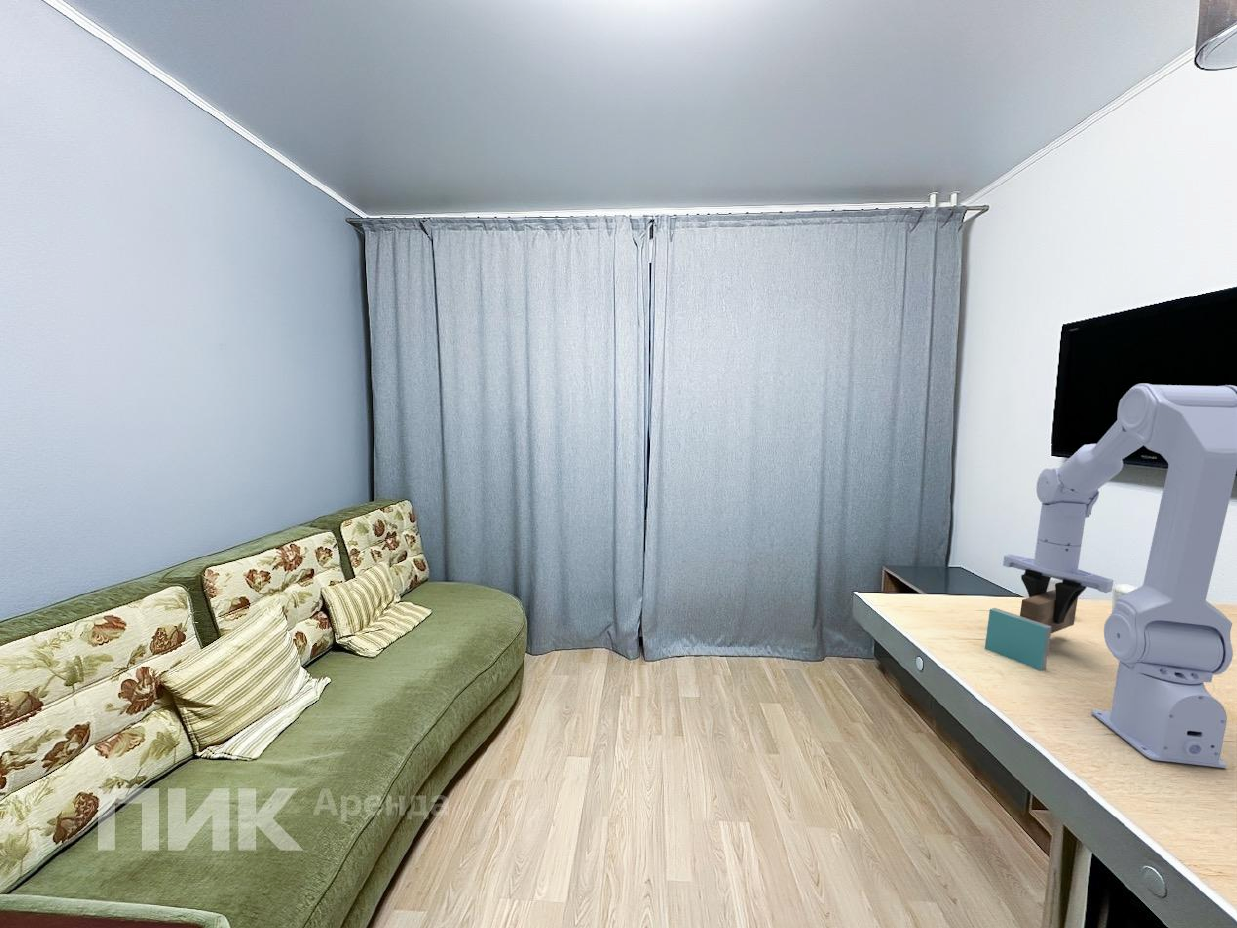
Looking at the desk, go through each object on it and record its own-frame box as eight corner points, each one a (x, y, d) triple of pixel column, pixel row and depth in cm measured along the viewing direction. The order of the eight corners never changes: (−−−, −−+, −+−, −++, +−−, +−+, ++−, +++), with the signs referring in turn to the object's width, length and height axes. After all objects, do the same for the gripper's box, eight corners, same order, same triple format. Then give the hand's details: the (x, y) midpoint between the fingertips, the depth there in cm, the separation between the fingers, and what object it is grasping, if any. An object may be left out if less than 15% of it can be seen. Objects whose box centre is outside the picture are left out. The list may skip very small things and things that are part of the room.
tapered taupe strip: (1034, 640, 85) (1039, 604, 84) (1017, 633, 87) (1022, 599, 86) (1073, 624, 92) (1078, 592, 91) (1057, 619, 94) (1062, 587, 93)
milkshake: (1152, 640, 93) (1161, 587, 92) (1117, 637, 94) (1126, 583, 93) (1133, 629, 98) (1141, 578, 96) (1100, 626, 99) (1108, 575, 97)
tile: (1045, 668, 82) (1051, 626, 81) (1040, 671, 81) (1046, 628, 80) (989, 646, 89) (994, 607, 88) (984, 648, 88) (989, 609, 87)
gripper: (1126, 550, 83) (1112, 631, 85) (1021, 529, 96) (1011, 600, 97) (1106, 555, 80) (1093, 640, 81) (1001, 532, 92) (991, 606, 94)
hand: (1047, 618), depth 89 cm, fingers closed on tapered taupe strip, 2 cm apart
